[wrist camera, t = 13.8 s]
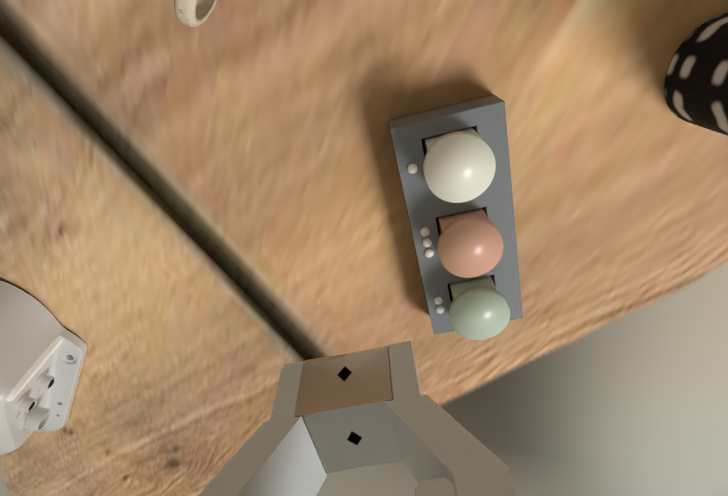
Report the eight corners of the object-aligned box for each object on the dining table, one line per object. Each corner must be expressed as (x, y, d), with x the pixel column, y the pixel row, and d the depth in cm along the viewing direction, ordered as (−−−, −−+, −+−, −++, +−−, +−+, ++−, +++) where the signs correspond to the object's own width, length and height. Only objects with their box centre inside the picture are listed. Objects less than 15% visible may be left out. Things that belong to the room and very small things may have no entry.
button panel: (513, 299, 45) (523, 318, 42) (429, 316, 46) (434, 335, 43) (493, 94, 35) (504, 101, 32) (388, 120, 36) (390, 129, 33)
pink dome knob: (491, 243, 41) (506, 270, 36) (436, 254, 41) (444, 283, 37) (485, 192, 38) (500, 215, 34) (427, 205, 39) (434, 229, 34)
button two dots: (497, 302, 44) (512, 334, 40) (446, 312, 44) (455, 344, 40) (492, 259, 41) (507, 288, 37) (439, 270, 42) (447, 300, 38)
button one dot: (483, 173, 37) (498, 194, 33) (423, 186, 38) (431, 209, 34) (476, 113, 35) (492, 127, 31) (412, 128, 35) (419, 144, 31)
